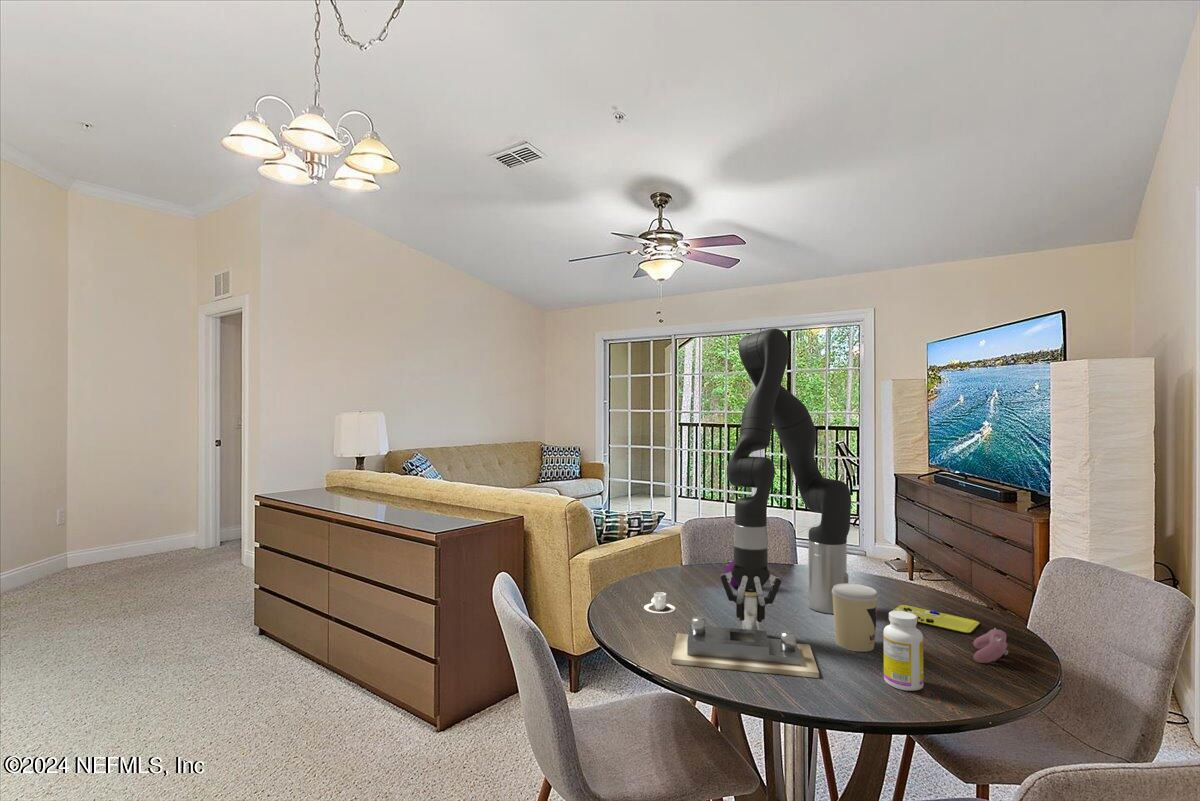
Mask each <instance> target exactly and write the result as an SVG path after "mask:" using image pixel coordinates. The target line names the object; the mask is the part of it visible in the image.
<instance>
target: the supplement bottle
mask: <svg viewBox="0 0 1200 801" xmlns="http://www.w3.org/2000/svg"><path fill="white" fill-rule="evenodd" d="M888 620H889V622H890V623H889V624H887V625H886V626H885V627H884V628H883V631H882V632H883V638H882V639H883V679H884V681H885V683H886V684H888V685H889V686H891V687H893V688H895V689H897V690H901V691H905V692H906V691H910V692H915V691H919V690H922V689H923V688H924V678H925V677H924V676H925V675H924V635H923V632H921V630H920V629H918V628H917V625H918V624H917V616H916V615H914V614H912V613H909V612H904V611H892V610H891V611H889V612H888Z"/></svg>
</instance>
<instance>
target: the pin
mask: <svg viewBox="0 0 1200 801" xmlns="http://www.w3.org/2000/svg"><path fill="white" fill-rule="evenodd" d="M759 591H760V590H759ZM742 604H743V621H741V623H742V624H741V625H742V627H741V629H747V630H759V628H760V625H759V623H760V622H758V608H759V599H758V595H757V591H755V590H751V589H749V590H745V592H744V595H743V599H742ZM759 631H760V630H759Z"/></svg>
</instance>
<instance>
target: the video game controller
mask: <svg viewBox="0 0 1200 801" xmlns="http://www.w3.org/2000/svg"><path fill="white" fill-rule="evenodd" d="M972 644H973V646H974V648H975V649H977V651H975V653H974V654H973V660H974V662H976V663H978V664H988V663H990V662H996V661H997V660H998V659H999V658H1001V657H1002V656H1003V655H1004V656H1007V655H1008V654H1009V650H1008V649H1007V648H1008V643H1007V633H1006V632H1005V631H1003V630H1001V629H999V628H998V629H997V628H996V627H994V628H992V629H990V630H988V631H987V632H986V633H984V634H982V635H981V636H978V637H975V639H974V640H973V642H972Z"/></svg>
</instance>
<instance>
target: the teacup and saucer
mask: <svg viewBox="0 0 1200 801" xmlns="http://www.w3.org/2000/svg"><path fill="white" fill-rule="evenodd" d="M650 602H651V603H647V604H645V605H644V606H643V609H644V610H645V611H647V612H649V613H653V614H670V613H672V612H675V610H676V607H675V606H674V605H672V604H670V603H667V593H666V592H662V591H657V592H654V593H653V597H652V598H651V600H650ZM651 606H654V607H655V610H660V611H655V610H651V609H649V608H650V607H651ZM666 607H668V608H670V609H669V610H667V611H661V610H664V609H665V608H666Z"/></svg>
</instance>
